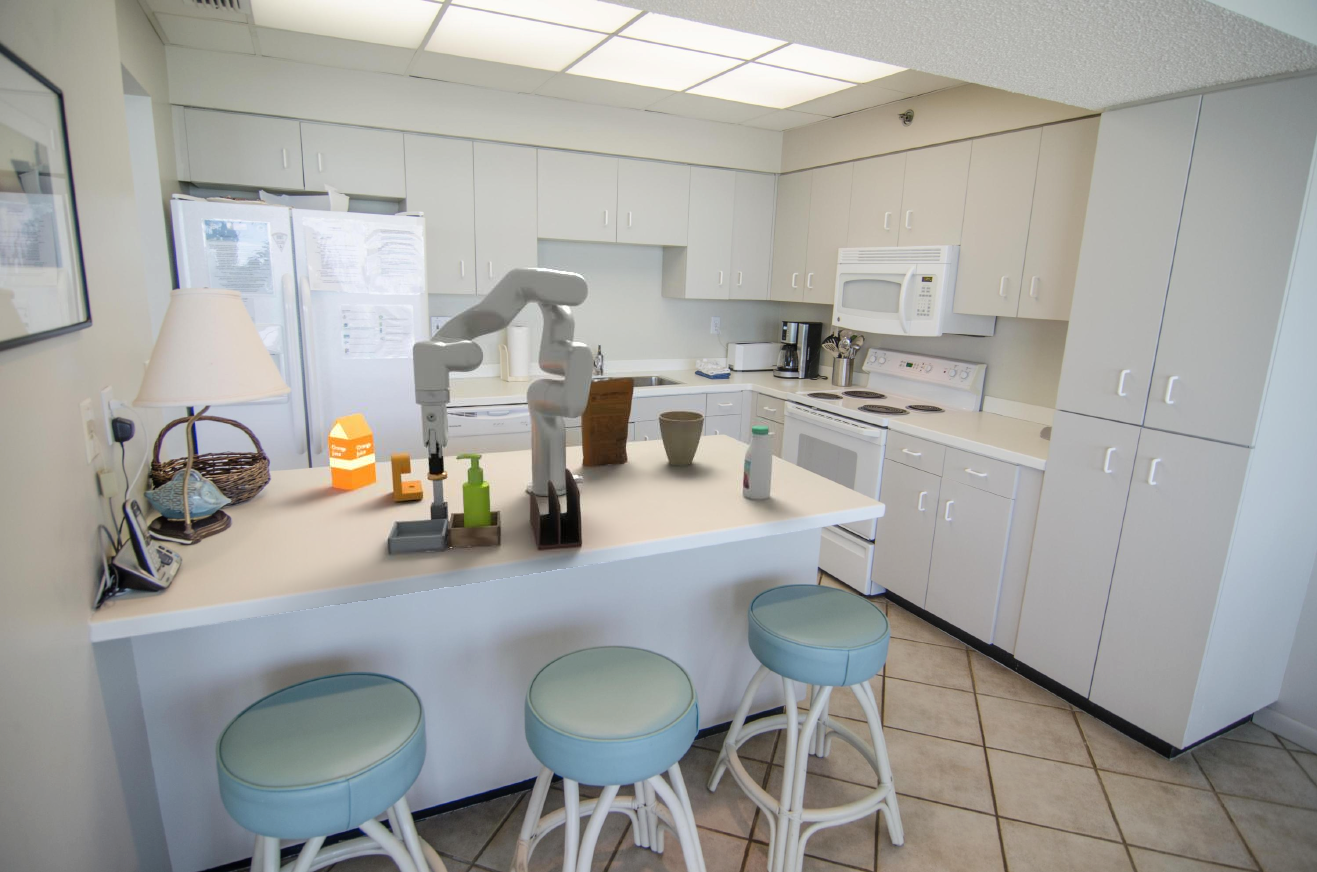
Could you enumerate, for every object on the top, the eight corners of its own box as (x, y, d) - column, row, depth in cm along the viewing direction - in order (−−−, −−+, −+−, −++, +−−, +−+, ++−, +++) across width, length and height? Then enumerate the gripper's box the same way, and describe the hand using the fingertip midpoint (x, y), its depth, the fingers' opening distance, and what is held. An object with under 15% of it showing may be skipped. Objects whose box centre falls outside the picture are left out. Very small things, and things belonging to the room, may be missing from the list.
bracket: (423, 501, 179) (420, 458, 176) (394, 504, 177) (391, 460, 174) (421, 489, 189) (418, 448, 186) (393, 491, 186) (390, 450, 183)
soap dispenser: (463, 533, 158) (459, 451, 153) (493, 533, 159) (490, 451, 154) (458, 543, 153) (453, 458, 148) (489, 542, 153) (485, 458, 148)
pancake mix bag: (637, 463, 220) (639, 378, 213) (583, 470, 211) (583, 381, 204) (628, 458, 226) (629, 375, 219) (575, 464, 216) (575, 378, 210)
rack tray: (448, 532, 158) (447, 518, 158) (445, 550, 148) (444, 535, 147) (396, 535, 156) (395, 521, 155) (388, 554, 146) (387, 539, 145)
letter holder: (569, 517, 171) (569, 463, 168) (582, 547, 152) (582, 488, 149) (529, 519, 168) (528, 465, 165) (537, 551, 150) (536, 491, 146)
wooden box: (500, 528, 162) (500, 510, 161) (500, 545, 152) (500, 526, 151) (452, 531, 159) (451, 513, 158) (449, 548, 150) (448, 529, 149)
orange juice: (331, 486, 189) (325, 417, 184) (356, 478, 197) (350, 411, 192) (353, 490, 186) (346, 420, 181) (377, 482, 194) (371, 414, 189)
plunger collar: (451, 523, 164) (450, 500, 162) (450, 531, 159) (449, 507, 158) (430, 525, 163) (429, 501, 161) (428, 532, 158) (426, 508, 157)
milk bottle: (773, 494, 192) (777, 426, 187) (765, 502, 185) (770, 431, 181) (747, 490, 195) (751, 422, 190) (738, 497, 188) (742, 428, 184)
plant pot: (660, 455, 230) (661, 409, 226) (704, 458, 228) (706, 412, 224) (654, 467, 215) (655, 419, 211) (700, 470, 213) (702, 421, 210)
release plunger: (450, 519, 163) (447, 470, 160) (448, 526, 159) (446, 475, 156) (431, 520, 162) (428, 470, 159) (429, 527, 158) (426, 476, 155)
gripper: (447, 402, 147) (451, 482, 151) (452, 390, 161) (455, 464, 165) (411, 402, 145) (415, 483, 150) (419, 390, 159) (423, 465, 164)
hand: (436, 473), depth 157 cm, fingers closed
